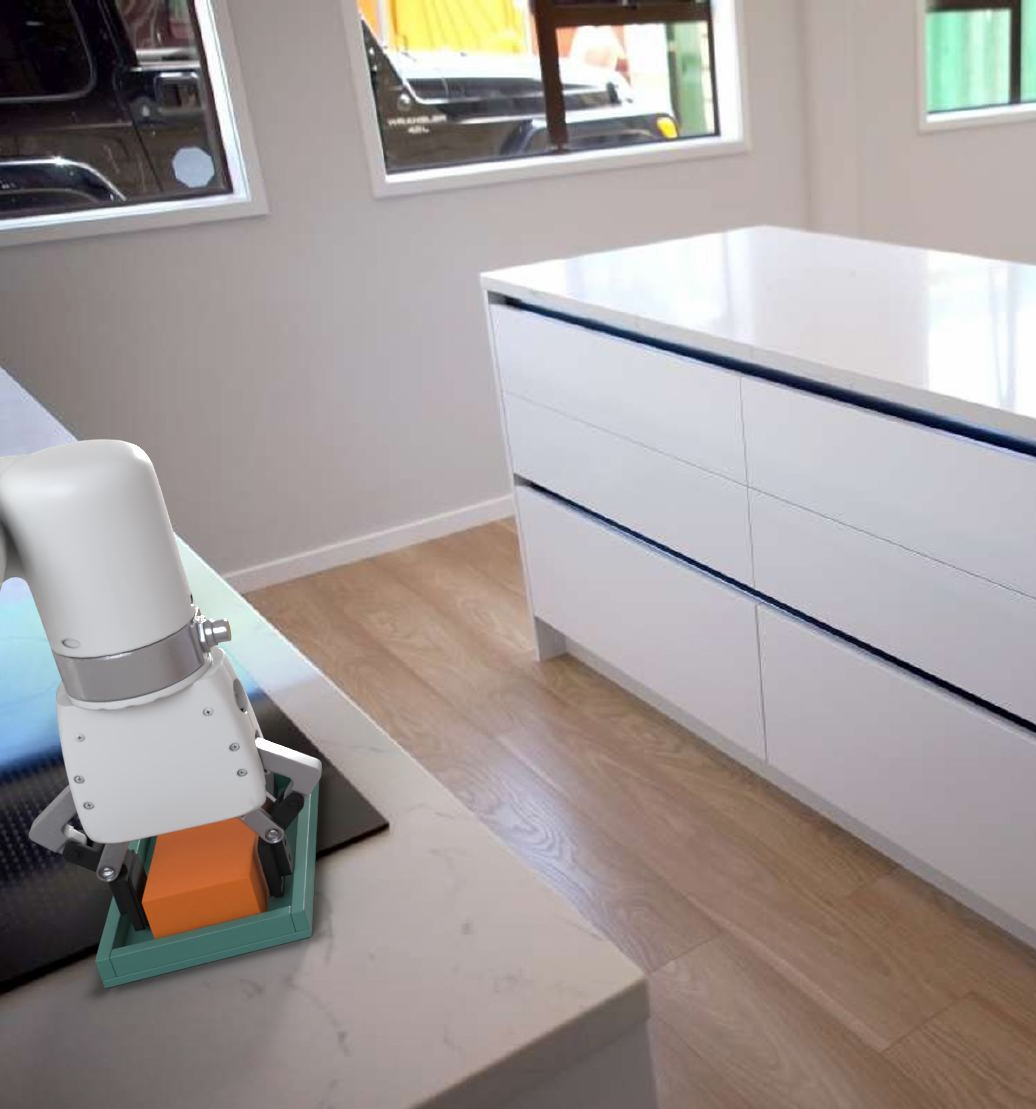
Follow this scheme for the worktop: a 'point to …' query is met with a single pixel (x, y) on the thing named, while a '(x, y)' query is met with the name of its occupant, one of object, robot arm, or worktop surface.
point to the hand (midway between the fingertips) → (212, 898)
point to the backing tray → (283, 922)
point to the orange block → (204, 878)
